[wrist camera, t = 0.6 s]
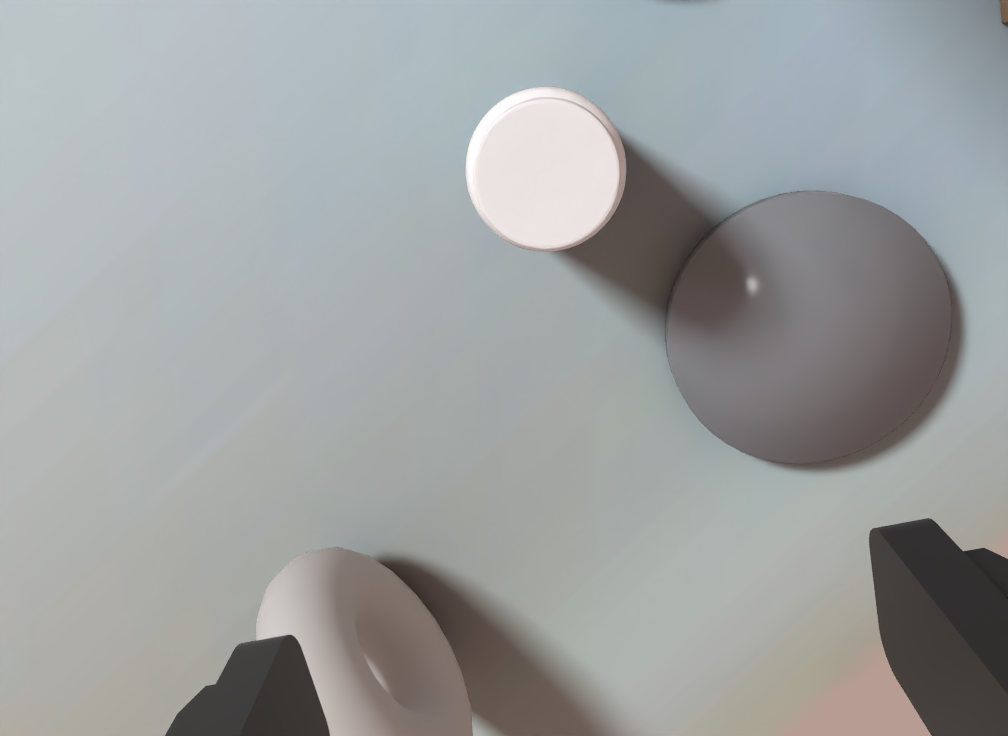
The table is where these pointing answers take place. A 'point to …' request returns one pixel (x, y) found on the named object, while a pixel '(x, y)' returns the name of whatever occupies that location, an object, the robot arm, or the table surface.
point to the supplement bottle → (546, 169)
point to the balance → (1004, 10)
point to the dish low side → (808, 326)
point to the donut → (367, 647)
